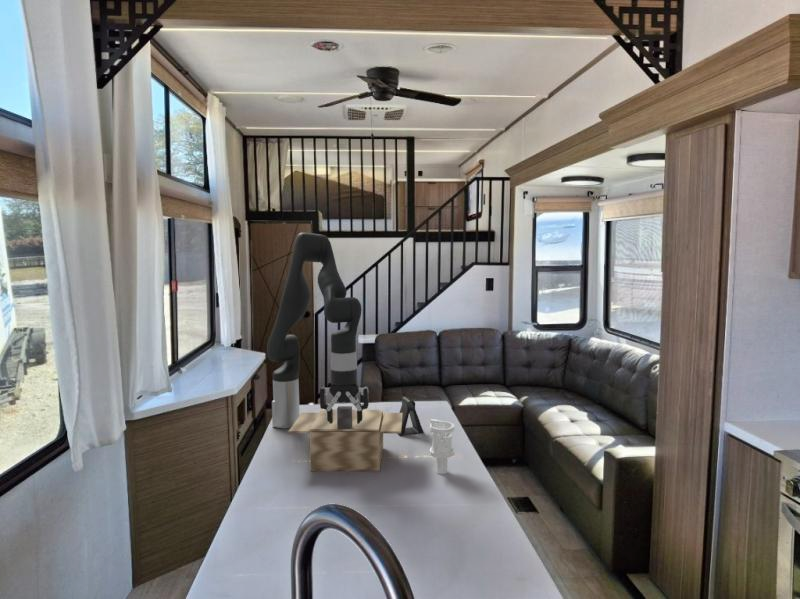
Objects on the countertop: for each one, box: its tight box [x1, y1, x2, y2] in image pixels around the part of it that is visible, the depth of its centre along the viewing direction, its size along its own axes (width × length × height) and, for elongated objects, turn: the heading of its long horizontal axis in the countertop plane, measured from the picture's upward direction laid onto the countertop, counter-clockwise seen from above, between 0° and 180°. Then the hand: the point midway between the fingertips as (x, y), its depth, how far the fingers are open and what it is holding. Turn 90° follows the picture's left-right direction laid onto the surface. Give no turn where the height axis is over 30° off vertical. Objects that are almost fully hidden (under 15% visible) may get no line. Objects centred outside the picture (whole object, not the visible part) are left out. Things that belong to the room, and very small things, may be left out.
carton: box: [288, 412, 403, 473], centre depth 156 cm, size 33×18×12 cm, turn 88°
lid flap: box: [310, 405, 384, 431], centre depth 156 cm, size 20×18×7 cm
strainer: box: [429, 418, 455, 475], centre depth 147 cm, size 7×7×15 cm
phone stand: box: [396, 395, 424, 437], centre depth 180 cm, size 9×6×12 cm, turn 108°
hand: (344, 422), depth 148 cm, fingers open, 7 cm apart
